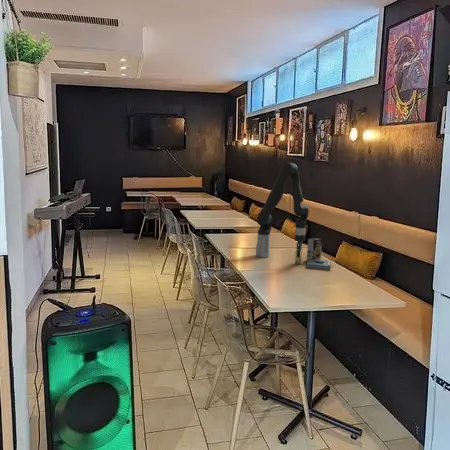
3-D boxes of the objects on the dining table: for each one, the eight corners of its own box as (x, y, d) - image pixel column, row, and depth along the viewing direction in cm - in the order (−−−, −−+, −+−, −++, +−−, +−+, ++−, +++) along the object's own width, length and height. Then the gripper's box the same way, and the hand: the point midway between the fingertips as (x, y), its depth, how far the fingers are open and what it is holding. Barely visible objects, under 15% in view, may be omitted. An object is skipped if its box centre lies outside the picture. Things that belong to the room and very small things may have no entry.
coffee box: (313, 261, 338) (314, 240, 335) (306, 259, 343) (307, 238, 340) (321, 260, 344) (322, 239, 341) (314, 258, 348) (315, 237, 346)
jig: (306, 267, 318) (306, 262, 317) (308, 262, 333) (308, 257, 333) (330, 270, 314) (330, 265, 313) (330, 265, 329) (331, 260, 329)
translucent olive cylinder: (294, 264, 327) (295, 252, 325) (295, 263, 331) (295, 250, 330) (300, 265, 326) (301, 252, 324) (301, 263, 330) (302, 251, 328)
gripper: (295, 231, 333) (294, 253, 335) (293, 235, 319) (292, 257, 322) (306, 232, 331) (305, 254, 333) (304, 235, 317) (303, 258, 320)
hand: (298, 256), depth 327 cm, fingers open, 8 cm apart
